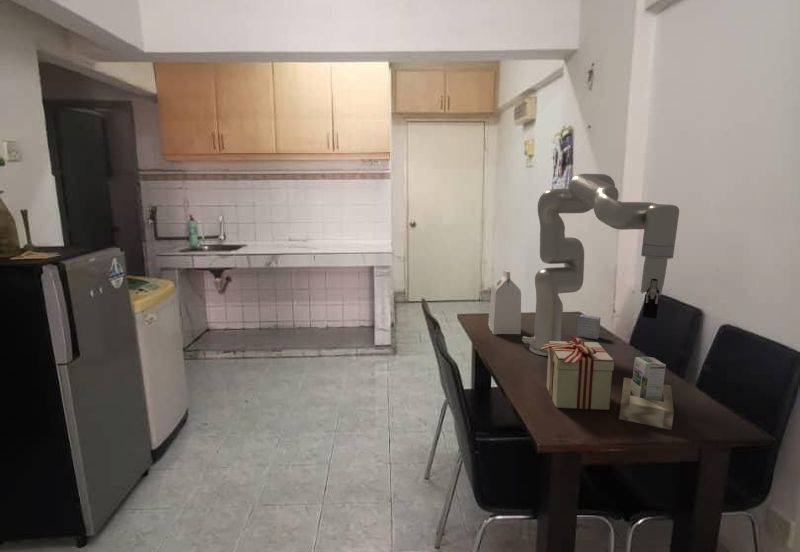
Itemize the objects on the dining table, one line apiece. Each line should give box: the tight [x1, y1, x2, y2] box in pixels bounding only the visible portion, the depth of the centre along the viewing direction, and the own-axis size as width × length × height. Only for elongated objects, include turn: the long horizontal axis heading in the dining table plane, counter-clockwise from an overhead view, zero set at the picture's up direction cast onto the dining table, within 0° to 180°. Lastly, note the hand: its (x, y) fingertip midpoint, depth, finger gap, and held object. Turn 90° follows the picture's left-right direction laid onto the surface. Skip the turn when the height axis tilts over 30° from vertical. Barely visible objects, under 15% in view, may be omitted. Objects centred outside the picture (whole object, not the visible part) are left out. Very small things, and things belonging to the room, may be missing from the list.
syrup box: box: [630, 356, 667, 401], centre depth 127 cm, size 6×6×14 cm
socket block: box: [619, 377, 675, 431], centre depth 127 cm, size 12×18×5 cm, turn 152°
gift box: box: [539, 335, 615, 411], centre depth 133 cm, size 17×18×17 cm
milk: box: [487, 269, 522, 335], centre depth 197 cm, size 12×12×26 cm
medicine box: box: [576, 314, 601, 340], centre depth 191 cm, size 8×4×9 cm, turn 57°
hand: (649, 313), depth 127 cm, fingers open, 9 cm apart
